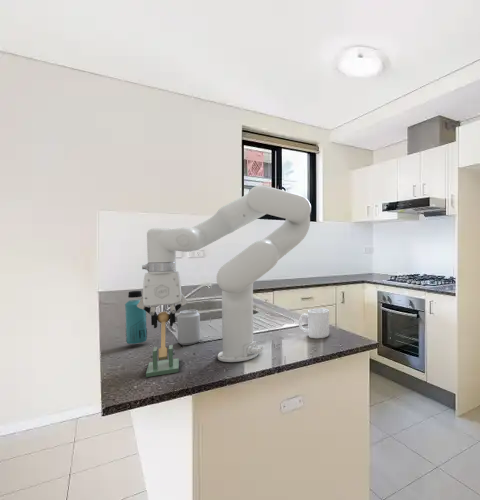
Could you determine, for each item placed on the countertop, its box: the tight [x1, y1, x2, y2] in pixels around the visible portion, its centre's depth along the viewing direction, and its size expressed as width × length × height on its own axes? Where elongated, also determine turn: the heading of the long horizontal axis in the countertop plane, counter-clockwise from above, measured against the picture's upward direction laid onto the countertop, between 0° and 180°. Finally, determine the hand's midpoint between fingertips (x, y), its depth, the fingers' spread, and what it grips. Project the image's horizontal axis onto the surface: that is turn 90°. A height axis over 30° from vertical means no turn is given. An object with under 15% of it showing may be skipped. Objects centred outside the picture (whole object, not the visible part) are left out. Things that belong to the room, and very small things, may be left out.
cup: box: [298, 308, 330, 339], centre depth 141 cm, size 8×12×10 cm
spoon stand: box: [145, 344, 180, 378], centre depth 105 cm, size 10×8×6 cm
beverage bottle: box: [124, 290, 148, 345], centre depth 129 cm, size 6×7×20 cm
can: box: [176, 309, 201, 346], centre depth 132 cm, size 8×8×12 cm
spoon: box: [157, 311, 170, 361], centre depth 108 cm, size 15×4×4 cm
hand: (163, 325), depth 111 cm, fingers closed on spoon, 3 cm apart
